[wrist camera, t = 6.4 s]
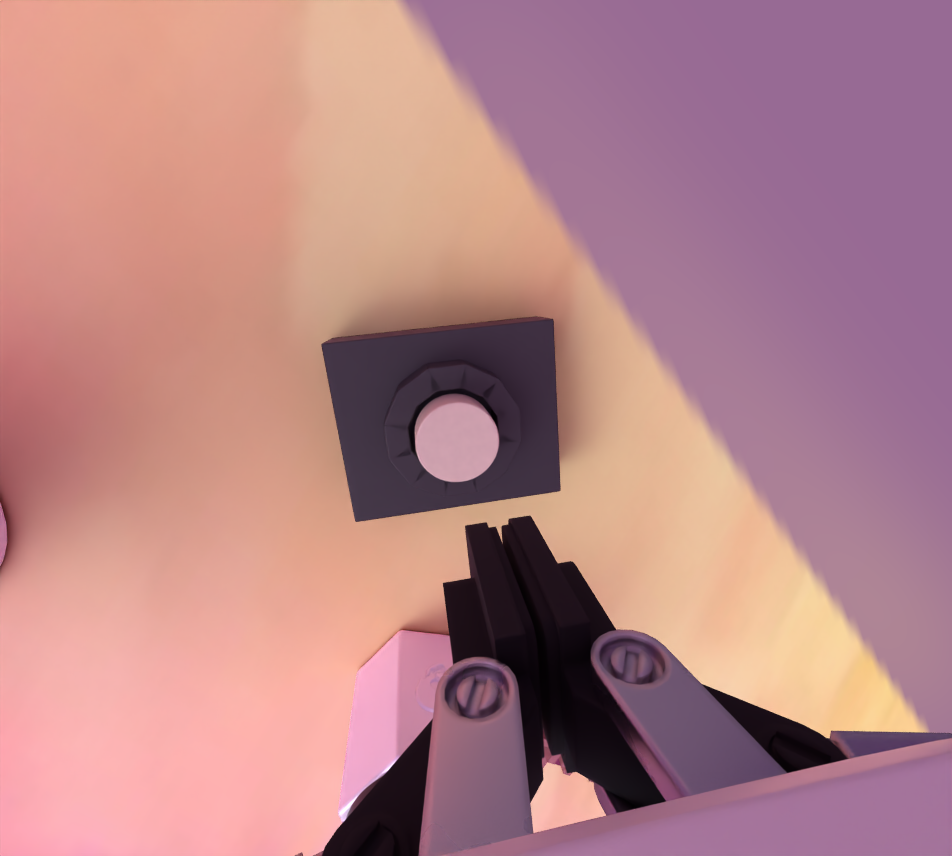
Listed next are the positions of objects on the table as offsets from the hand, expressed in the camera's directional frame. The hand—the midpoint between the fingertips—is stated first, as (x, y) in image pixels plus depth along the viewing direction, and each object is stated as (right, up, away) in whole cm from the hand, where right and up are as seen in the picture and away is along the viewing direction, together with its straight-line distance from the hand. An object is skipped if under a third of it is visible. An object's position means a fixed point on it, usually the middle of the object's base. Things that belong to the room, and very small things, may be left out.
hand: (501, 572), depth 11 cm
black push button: (-2, +5, +16) cm, 17 cm away
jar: (-5, -14, +22) cm, 26 cm away
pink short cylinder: (-2, +3, +12) cm, 12 cm away
